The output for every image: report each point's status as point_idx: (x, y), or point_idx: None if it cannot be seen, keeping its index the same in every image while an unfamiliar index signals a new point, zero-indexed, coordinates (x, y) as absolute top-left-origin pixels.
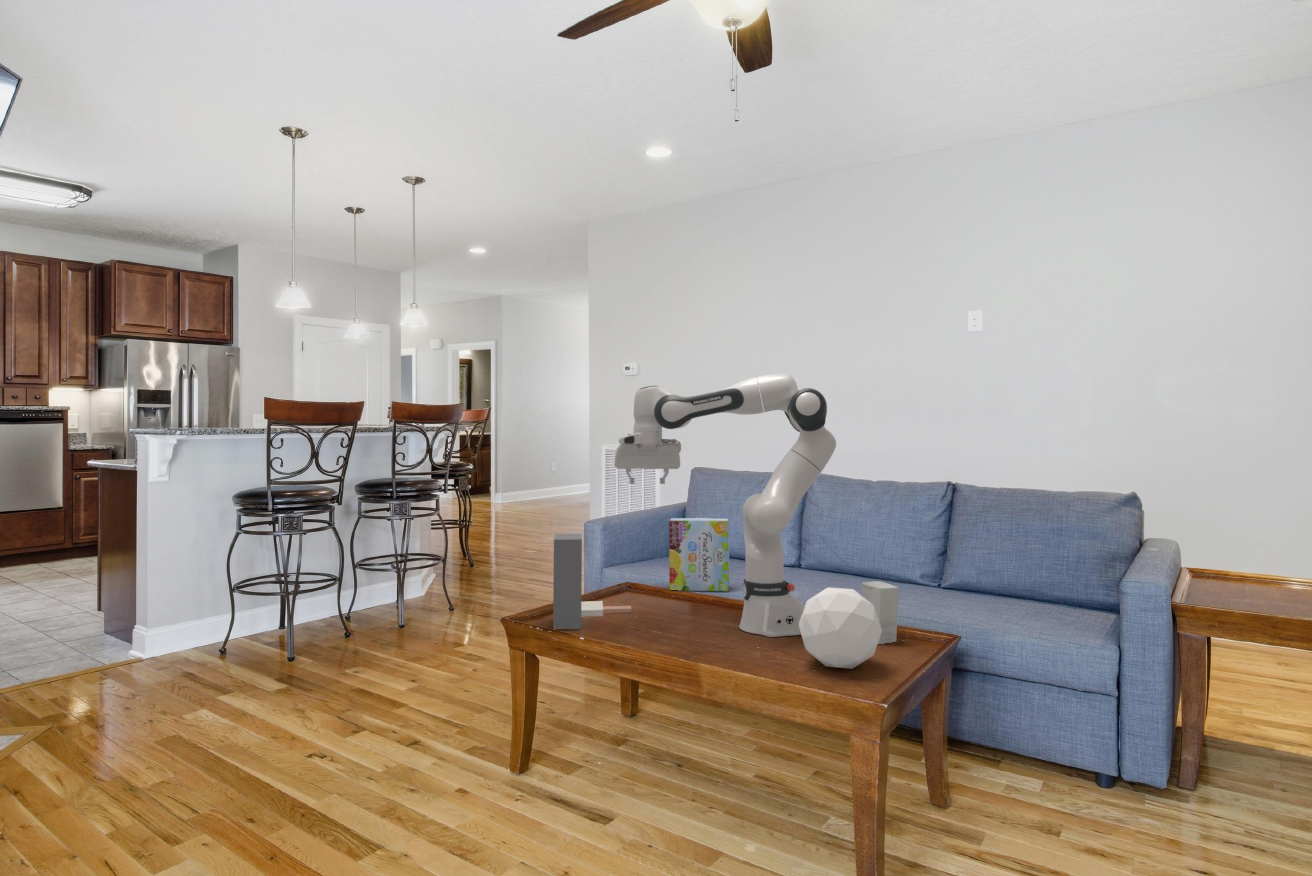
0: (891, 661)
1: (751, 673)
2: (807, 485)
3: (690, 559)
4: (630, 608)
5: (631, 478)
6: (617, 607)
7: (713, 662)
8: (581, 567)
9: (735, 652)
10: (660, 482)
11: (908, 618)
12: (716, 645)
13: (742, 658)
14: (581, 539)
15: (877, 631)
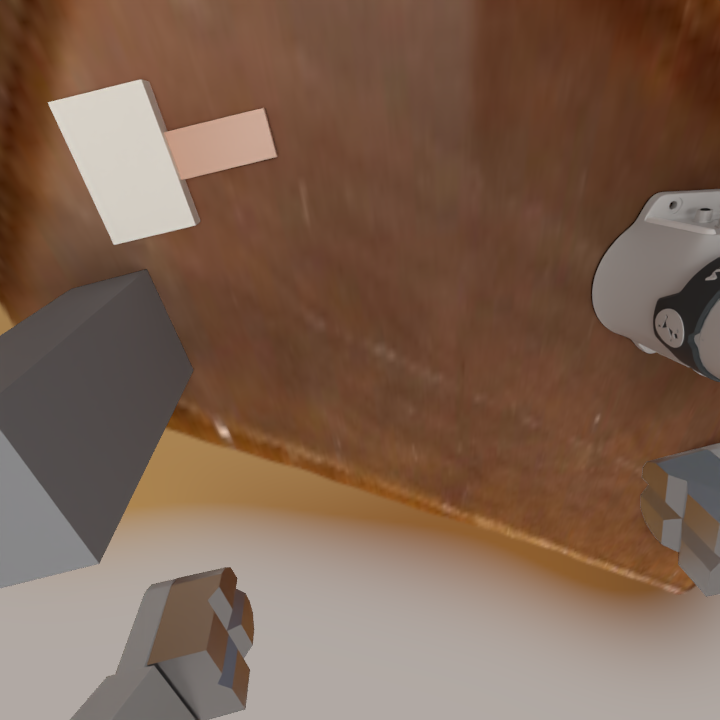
0: None
1: (552, 539)
2: None
3: None
4: (272, 155)
5: (194, 712)
6: (223, 144)
7: (500, 509)
8: (140, 476)
9: (546, 455)
10: (654, 535)
11: None
12: (516, 423)
13: (553, 482)
14: (97, 563)
15: None
